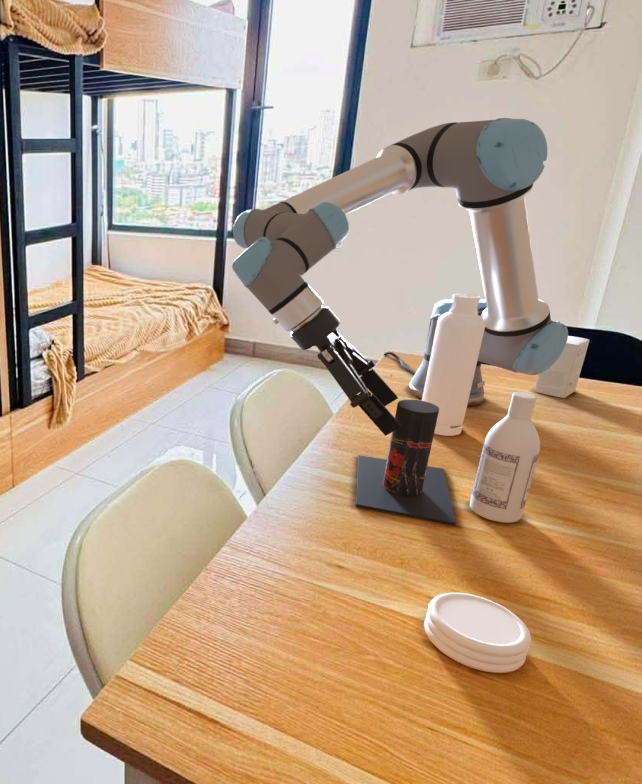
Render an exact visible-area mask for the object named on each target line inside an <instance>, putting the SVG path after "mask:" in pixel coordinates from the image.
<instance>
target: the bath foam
mask: <svg viewBox="0 0 642 784" xmlns="http://www.w3.org/2000/svg"><path fill="white" fill-rule="evenodd" d="M536 401H537V396H536V395H534V394H532V393H530V392H525V391H516V392H513V393H512V395H511V399H510V404H509V406H508V411H507V414H506V416H504V417H503V418H502V419H501V420H499V421H498V422H497V423H496V424H494V425H493V426H492V427H491V428H490V430H489V431H488V432H487V434H486V436H485V439H484V441H483V446H482V450H481V454H480V459H479V463H478V467H477V471H476V475H475V478H474V483H473V487H472V492H471V495H470V501H469V508H470V510H471V511H473V512H474V513H475V514H476V515H478V516H480V517H481V518H484V519H487V520H490V521H492V522H496V523H505V524H506V523H507V524H511V523H516V522H518V521H520V520H521V519H522V516H523V513H524V510H525V506H526V503H527V499H528V496H529V493H530V488H531V486H532V481H533V477H534V474H535V471H536V468H537V463H538V460H539V456H540V450H541V439H540V436H539V433H538V430H537V429H536V426H535V425H534V423H533V421H532V416H533V414H534V410H535V406H536Z"/></svg>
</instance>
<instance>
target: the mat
mask: <svg viewBox="0 0 642 784" xmlns="http://www.w3.org/2000/svg"><path fill="white" fill-rule="evenodd" d="M386 463H387V459H385V458H378V457H372V456H366V455H359V454H358V456H357V475H356V477H357V478H356V495H355V507H356V508H360V509H366V510H371V511H375V512H380V513H387V514H392V515H397V516H402V517H407V518H414V519H418V520H424V521H429V522H434V523H440V524H445V525H450V526H454V527H455V526H457V522H456V521H457V520H456V516H455V512H454V509H453V504H452V500H451V497H450V496H451V495H450V491H449V486H448V482H447V478H446V473H445V469H444V468H441V467H435V466H429V465H427V470H426V474H425V479H424V484H423V489H422V493H421V494H420V495H418V496H413V497H409V496H401V495H397V494H394V493H392V492H389V491H388V490H386V489H385V488H384V487H383V479H384V474H385V468H386Z"/></svg>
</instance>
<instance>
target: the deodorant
mask: <svg viewBox="0 0 642 784" xmlns="http://www.w3.org/2000/svg"><path fill="white" fill-rule="evenodd" d="M438 413H439V407H437V406H436V405H434V404H432V403H429V402H425V401H422V400H421V399H420V400H419V399H402V400H399V401H398V402H397V403H396V410H395V415H394V418H395V419H396V420H397V421H398V422H399V423H400V424H401V427H400V428H398V429H397V430H395V431H393V432H392V433H391V437H390V443H389V447H388V453H387V459H386V460H387V463H386V468H385V474H384V479H383V487H384V488H385V489H386V490H388V491H389V492H392V493H394V494H397V495H401V496H409V497H413V496H418V495H420V494H421V493H422V489H423V484H424V479H425V474H426V470H427V466H429V465H428V464H429V459H430V455H431V451H432V445H433V440H434V435H435V434H434V432H435V427H436V426H437V425H436V422H437V418H438Z"/></svg>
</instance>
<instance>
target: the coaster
mask: <svg viewBox="0 0 642 784" xmlns="http://www.w3.org/2000/svg"><path fill="white" fill-rule="evenodd" d="M423 627H424V632H425V634H426V636H427V638H428V639H429V641H430V642H431V644H433V646H434V647H436V648H437V649H438V650H439V651H440V652H441V653H443V654H444V655H445V656H447V657H449V658H450V659H451V660H453V661H455V662H457V663H459V664H461V665H462V666H465V667H468V668H471V669H473V670H477V671H482V672H487V673H493V674H506V673H512V672H515V671H517V670H519V669H520V668H521V667H522V666H523V665H524V664H525V663H526V661H527V655H528V653H529V649H530V646H531V643H532V635H531V632H530V630H529V628H528V626H527V625H526V623H524V621H523V620H522V619H521V618H519V616H517V615H516V614H515V613H514V612H513V611H511V610H510V609H508V608H506V607H505V606H503V605H501V604H499V603H497V602H494V601H493V600H491V599H488V598H485V597H482V596H479V595H475V594H472V593H471V594H470V593H465V592H447V593H441V594H439V595H437V596H434V597H433V598H432V599H431V600H430V602H428V606H427V611H426V614H425V618H424V622H423Z"/></svg>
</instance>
